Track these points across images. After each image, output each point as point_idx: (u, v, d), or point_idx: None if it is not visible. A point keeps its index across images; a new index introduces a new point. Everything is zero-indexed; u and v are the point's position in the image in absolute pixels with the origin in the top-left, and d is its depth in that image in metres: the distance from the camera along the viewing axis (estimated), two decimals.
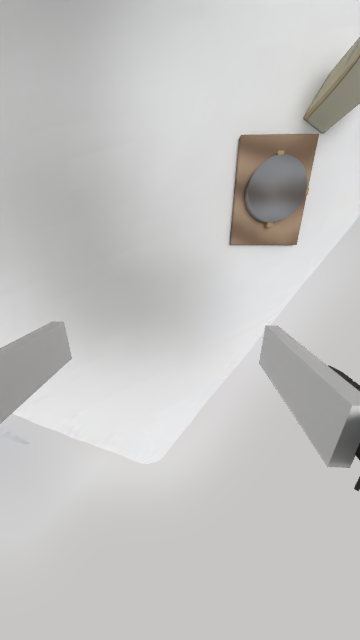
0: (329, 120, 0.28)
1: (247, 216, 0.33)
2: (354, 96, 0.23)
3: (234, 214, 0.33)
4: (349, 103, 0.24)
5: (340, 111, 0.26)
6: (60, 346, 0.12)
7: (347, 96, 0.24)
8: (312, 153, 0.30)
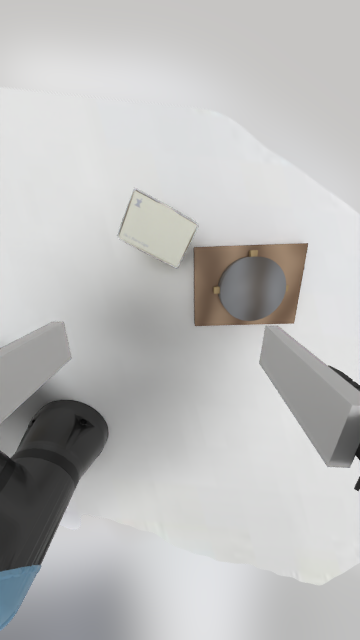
0: None
1: None
2: None
3: (263, 323, 0.30)
4: None
5: None
6: (60, 346, 0.12)
7: None
8: (211, 249, 0.27)
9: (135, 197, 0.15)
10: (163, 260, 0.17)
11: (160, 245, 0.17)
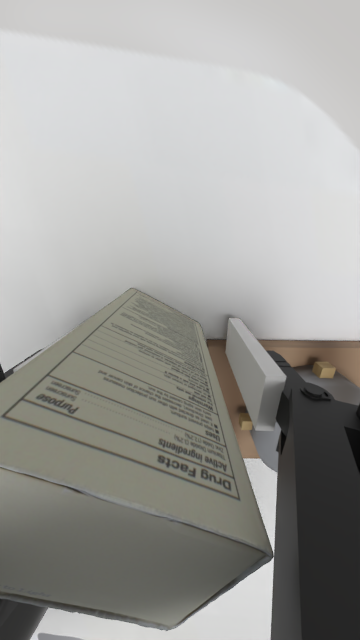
0: None
1: None
2: None
3: None
4: None
5: None
6: None
7: None
8: None
9: None
10: (115, 612, 0.04)
11: (101, 597, 0.04)
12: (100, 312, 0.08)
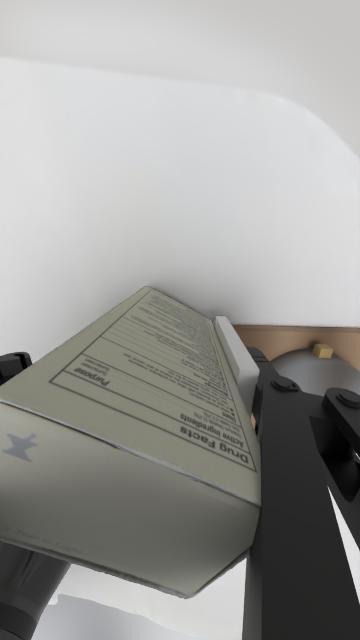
0: None
1: None
2: None
3: None
4: None
5: None
6: None
7: None
8: (249, 334, 0.16)
9: (2, 428, 0.03)
10: (138, 576, 0.05)
11: (127, 556, 0.04)
12: (120, 305, 0.09)
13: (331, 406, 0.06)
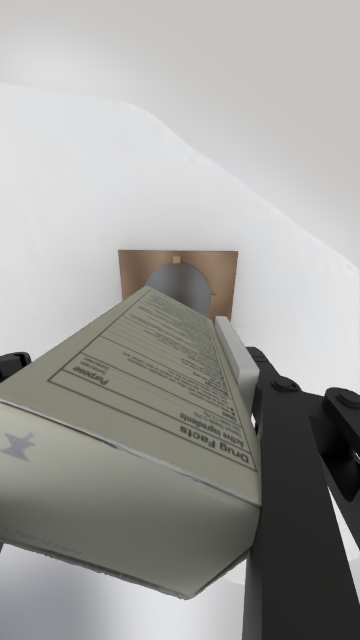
0: None
1: None
2: None
3: None
4: None
5: None
6: None
7: None
8: (136, 253, 0.25)
9: (0, 427, 0.03)
10: (137, 577, 0.05)
11: (126, 557, 0.04)
12: (119, 304, 0.08)
13: (331, 406, 0.06)
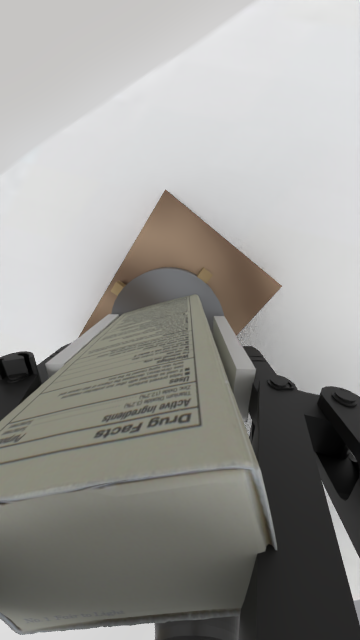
0: None
1: (224, 311, 0.17)
2: None
3: (241, 328, 0.17)
4: None
5: None
6: None
7: None
8: (88, 328, 0.18)
9: None
10: (208, 609, 0.04)
11: (160, 597, 0.03)
12: (80, 351, 0.09)
13: (327, 405, 0.06)
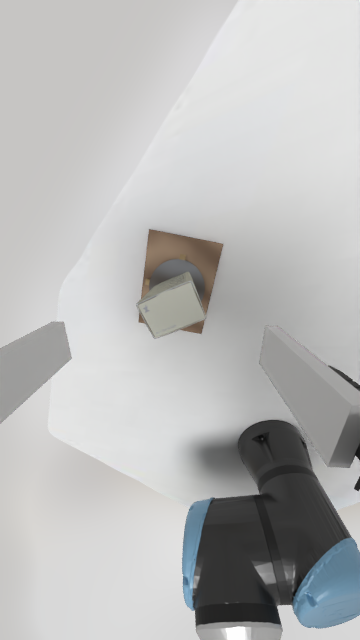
0: None
1: (201, 270, 0.31)
2: None
3: (214, 274, 0.32)
4: (192, 281, 0.24)
5: None
6: (60, 346, 0.12)
7: None
8: None
9: (141, 308, 0.19)
10: (192, 322, 0.19)
11: (182, 317, 0.19)
12: None
13: None
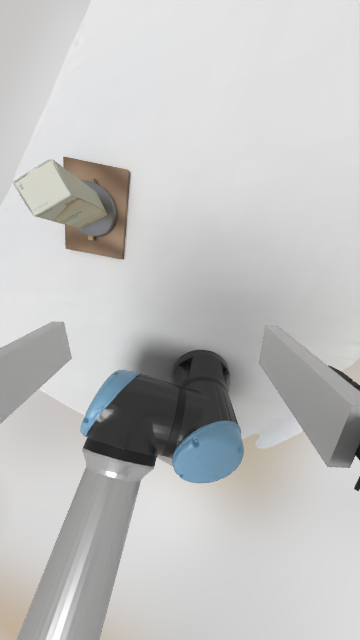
0: (92, 192, 0.32)
1: (113, 195, 0.36)
2: (79, 184, 0.27)
3: (125, 199, 0.36)
4: (81, 184, 0.28)
5: (86, 188, 0.30)
6: (60, 346, 0.12)
7: (83, 189, 0.28)
8: (67, 236, 0.39)
9: (17, 185, 0.23)
10: (60, 199, 0.24)
11: (51, 194, 0.24)
12: None
13: None
